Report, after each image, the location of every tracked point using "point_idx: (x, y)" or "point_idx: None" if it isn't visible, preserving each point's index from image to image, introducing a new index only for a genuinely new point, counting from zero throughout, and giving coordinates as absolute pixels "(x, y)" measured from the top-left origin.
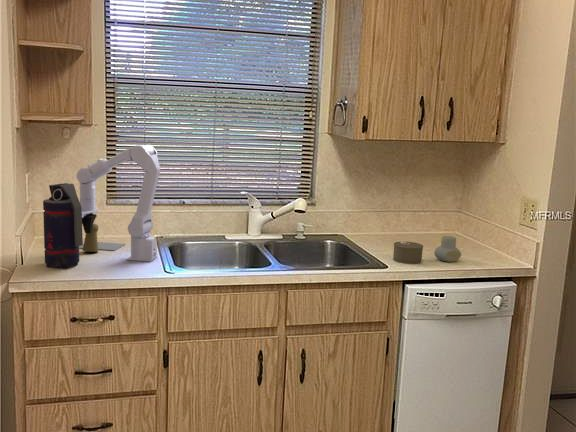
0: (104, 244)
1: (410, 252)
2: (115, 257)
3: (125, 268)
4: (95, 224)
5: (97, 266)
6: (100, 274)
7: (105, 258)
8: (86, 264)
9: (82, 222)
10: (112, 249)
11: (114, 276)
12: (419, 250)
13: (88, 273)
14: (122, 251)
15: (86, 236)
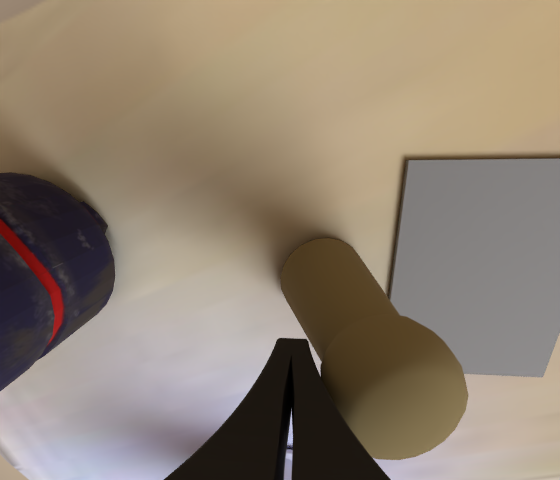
0: (516, 287)
1: None
2: None
3: (129, 459)
4: (386, 459)
5: (107, 379)
6: (26, 415)
7: (233, 369)
8: (113, 335)
9: (226, 427)
10: None
11: (32, 452)
12: None
13: (14, 380)
14: None
15: (317, 311)
